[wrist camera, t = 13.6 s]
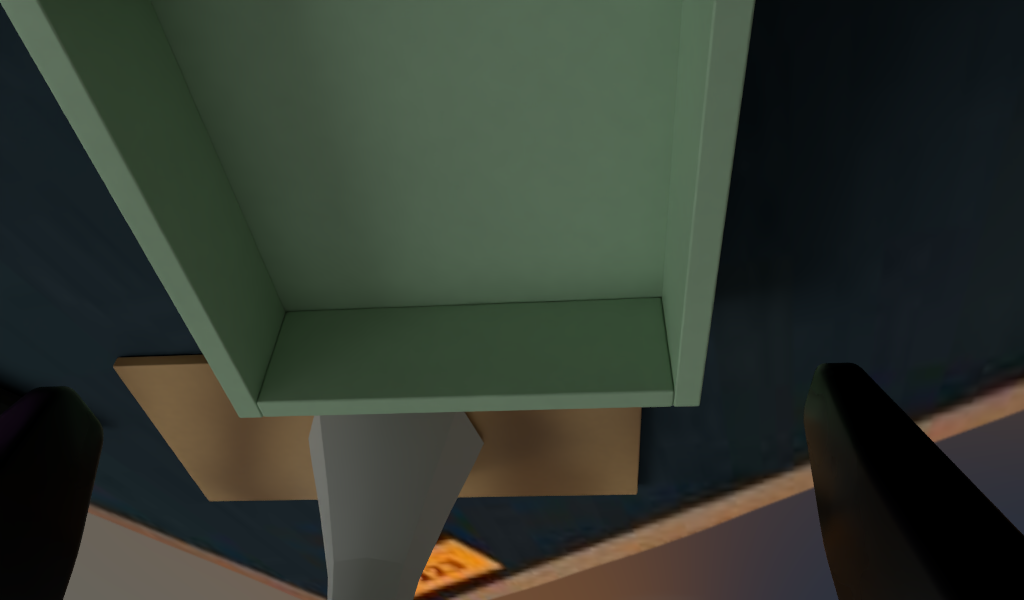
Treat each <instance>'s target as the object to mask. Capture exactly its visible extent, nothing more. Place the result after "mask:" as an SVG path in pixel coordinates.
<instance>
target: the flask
mask: <svg viewBox="0 0 1024 600" xmlns="http://www.w3.org/2000/svg"><path fill="white" fill-rule="evenodd" d="M308 439H309V447H310V454H311V461H312V467H313V473H314V479H315V485H316V491H317V497H318V503H319V509H320V516H321V524H322V532H323V540H324V548H325V556H326V564H327V572H328V600H413V598H414V595H415V591H416V588H417V585H418V581H419V579H420V576H421V574H422V572H423V570H424V568H425V566H426V563H427V561H428V559H429V557H430V555H431V552H432V550H433V548H434V546H435V544H436V542H437V539H438V537H439V535H440V533H441V531H442V528H443V526H444V524H445V522H446V520H447V518H448V515H449V513H450V511H451V509H452V507H453V505H454V503H455V501H456V499H457V497H458V495H459V493H460V491H461V489H462V487H463V485H464V483H465V481H466V479H467V477H468V475H469V473H470V472H471V470H472V468H473V466H474V464H475V461H476V459H477V457H478V455H479V453H480V451H481V448H482V446H483V444H484V442H483V441H482V439H481V438H480V436H479V434H478V433H477V431H476V430H475V428H474V426H473V425H472V423H471V422H470V420H469V418H468V417H467V415H466V414H465V412H434V413H395V414H356V415H318V416H314V418H313V422H312V426H311V430H310V434H309V438H308Z"/></svg>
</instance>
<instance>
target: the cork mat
mask: <svg viewBox="0 0 1024 600" xmlns="http://www.w3.org/2000/svg"><path fill="white" fill-rule="evenodd" d="M113 368H114V369H115V371H116V372H117V373H118V375H119V376H120V378H121V379H122V380H123V382H124V383H125V385H126V386H127V387H128V389H129V390H130V392H131V393H132V394H133V396H134V397H135V398H136V400H137V401H138V403H139V404H140V405H141V407H142V408H143V410H144V411H145V412H146V414H147V415H148V417H149V418H150V419H151V421H152V422H153V424H154V425H155V426H156V428H157V429H158V431H159V432H160V433H161V435H162V436H163V438H164V439H165V440H166V442H167V443H168V445H169V446H170V447H171V449H172V450H173V451H174V453H175V454H176V456H177V457H178V458H179V460H180V461H181V463H182V464H183V465H184V467H185V468H186V470H187V471H188V472H189V474H190V475H191V477H192V478H193V479H194V481H195V482H196V484H197V485H198V486H199V488H200V489H201V491H202V492H203V493H204V495H205V496H206V498H207V499H208V500H209V501H254V500H316V499H318V497H317V491H316V485H315V479H314V473H313V467H312V461H311V454H310V447H309V439H308V438H309V434H310V430H311V426H312V422H313V418H314V416H279V417H265V416H263V417H257V418H240V417H239V416H238V414H237V412H236V411H235V409H234V407H233V405H232V404H231V402H230V400H229V398H228V397H227V395H226V393H225V391H224V390H223V388H222V386H221V385H220V383H219V381H218V379H217V378H216V376H215V374H214V372H213V371H212V369H211V367H210V365H209V364H208V362H207V360H206V358H205V357H204V355H178V356H148V357H119V358H117V360H116V362H115V364H114V366H113ZM641 408H642V407H628V408H589V409H550V410H512V411H473V412H465V414H466V415H467V417H468V418H469V420H470V422H471V423H472V425H473V426H474V428H475V430H476V431H477V433H478V434H479V436H480V438H481V439H482V441H483V442H484V444H483V446H482V448H481V451H480V453H479V455H478V457H477V459H476V461H475V464H474V466H473V468H472V470H471V472H470V473H469V475H468V477H467V479H466V481H465V483H464V485H463V487H462V489H461V491H460V493H459V495H458V497H503V496H565V495H627V494H637V489H638V469H639V449H640V428H641Z"/></svg>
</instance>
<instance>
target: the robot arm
mask: <svg viewBox="0 0 1024 600" xmlns="http://www.w3.org/2000/svg"><path fill="white" fill-rule="evenodd" d="M804 426H805V432H806V439H807V445H808V451H809V457H810V464H811V470H812V476H813V482H814V489H815V495H816V501H817V507H818V514H819V520H820V526H821V532H822V537H823V543H824V547H825V551H826V555H827V560H828V563H829V567H830V571H831V574H832V578H833V581H834V585H835V588H836V592H837V595H838V599H839V600H1024V535H1023V534H1022V533H1021V532H1020V531H1019V530H1018V529H1017V528H1016V527H1015V526H1014V525H1013V524H1012V523H1011V522H1010V521H1009V520H1008V519H1007V518H1006V517H1005V516H1004V515H1003V513H1001V511H1000V510H999V509H998V508H997V507H996V506H995V505H994V504H993V503H992V502H991V501H990V500H989V499H988V498H987V497H986V496H985V495H984V494H983V493H982V492H981V491H980V490H979V489H978V488H977V487H976V486H975V485H974V484H973V483H972V482H971V480H970V479H969V478H968V477H967V476H966V475H965V474H964V473H963V472H962V471H961V470H960V469H959V468H958V467H957V466H956V465H955V464H954V463H953V462H952V461H951V460H950V459H949V458H948V457H947V456H946V455H945V454H944V453H943V452H942V451H941V450H940V449H939V447H938V446H936V444H935V443H934V442H933V441H932V440H931V439H930V438H929V437H928V436H927V435H926V434H925V433H924V432H923V431H922V430H921V429H920V428H919V427H918V426H917V425H916V424H915V423H914V422H913V421H912V420H911V419H910V417H909V416H908V415H907V414H906V413H905V412H904V411H903V410H902V409H901V408H900V407H899V406H898V405H897V404H896V403H895V402H894V401H893V400H892V399H891V398H890V397H889V396H888V395H887V394H886V393H885V392H884V391H883V390H882V389H881V388H880V387H879V385H878V384H877V383H876V382H875V381H874V380H873V379H872V378H871V377H870V376H869V375H868V374H867V373H866V372H865V371H864V370H863V369H862V368H861V367H859V366H858V365H856V364H854V363H824V364H821V365H819V366H818V367H817V369H816V371H815V373H814V376H813V380H812V383H811V386H810V390H809V393H808V396H807V400H806V403H805V407H804ZM102 445H103V429H102V426H101V424H100V422H99V420H98V419H97V418H96V417H95V415H94V414H93V413H92V412H91V410H90V409H89V408H88V407H87V405H86V404H85V403H84V402H83V400H82V399H81V398H80V397H79V395H78V394H77V393H76V392H75V391H74V390H73V389H71V388H69V387H65V386H57V387H39V388H35V389H33V390H31V391H29V392H28V393H27V394H25V395H24V396H23V397H22V398H20V399H19V400H18V401H17V402H16V403H14V404H13V405H12V406H11V407H9V408H8V409H7V410H6V411H5V412H3V413H2V414H1V415H0V600H63V597H64V595H65V592H66V589H67V586H68V583H69V580H70V577H71V574H72V571H73V568H74V564H75V561H76V558H77V554H78V551H79V547H80V543H81V539H82V535H83V531H84V526H85V522H86V517H87V513H88V508H89V504H90V499H91V495H92V490H93V486H94V481H95V477H96V472H97V468H98V463H99V459H100V454H101V450H102Z"/></svg>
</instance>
